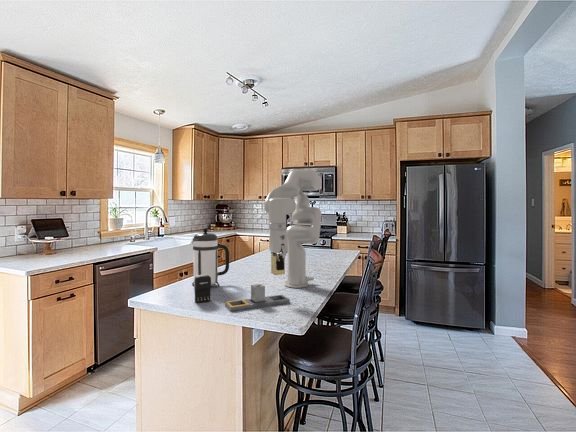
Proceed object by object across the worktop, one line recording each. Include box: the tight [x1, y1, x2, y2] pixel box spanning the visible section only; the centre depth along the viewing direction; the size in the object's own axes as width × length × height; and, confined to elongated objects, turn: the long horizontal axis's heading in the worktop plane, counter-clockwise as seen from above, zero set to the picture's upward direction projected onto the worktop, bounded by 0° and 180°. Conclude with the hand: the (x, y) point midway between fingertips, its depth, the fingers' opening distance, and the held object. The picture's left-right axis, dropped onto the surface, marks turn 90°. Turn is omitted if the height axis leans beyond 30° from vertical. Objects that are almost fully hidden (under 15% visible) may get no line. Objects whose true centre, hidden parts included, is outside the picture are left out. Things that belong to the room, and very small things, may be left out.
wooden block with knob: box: [270, 254, 286, 276], centre depth 139 cm, size 4×4×8 cm
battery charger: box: [193, 275, 212, 303], centre depth 139 cm, size 7×4×11 cm, turn 117°
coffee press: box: [189, 227, 230, 288], centre depth 166 cm, size 17×16×30 cm
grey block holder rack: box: [224, 294, 291, 312], centre depth 135 cm, size 26×8×2 cm, turn 116°
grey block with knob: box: [250, 283, 266, 303], centre depth 135 cm, size 4×4×8 cm
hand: (278, 268), depth 139 cm, fingers closed on wooden block with knob, 4 cm apart
